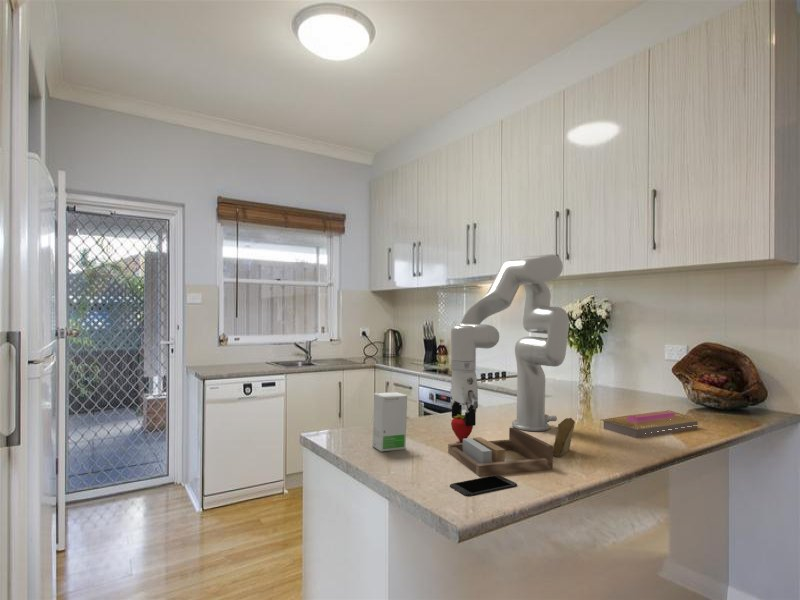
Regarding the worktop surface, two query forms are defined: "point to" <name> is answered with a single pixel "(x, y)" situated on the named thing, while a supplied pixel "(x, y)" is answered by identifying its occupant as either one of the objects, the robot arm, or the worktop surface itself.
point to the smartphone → (483, 485)
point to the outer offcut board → (477, 451)
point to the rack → (518, 442)
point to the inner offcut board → (493, 450)
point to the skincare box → (389, 421)
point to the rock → (563, 437)
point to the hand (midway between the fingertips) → (463, 421)
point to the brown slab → (652, 418)
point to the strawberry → (460, 427)
